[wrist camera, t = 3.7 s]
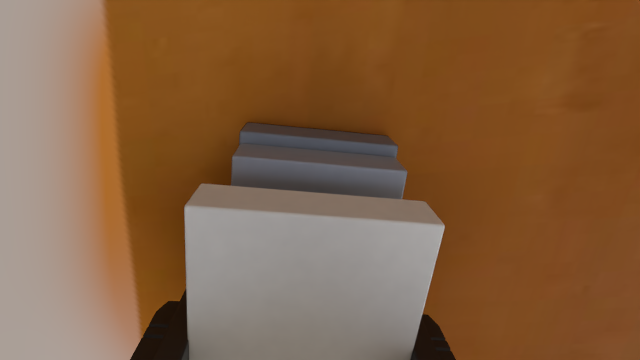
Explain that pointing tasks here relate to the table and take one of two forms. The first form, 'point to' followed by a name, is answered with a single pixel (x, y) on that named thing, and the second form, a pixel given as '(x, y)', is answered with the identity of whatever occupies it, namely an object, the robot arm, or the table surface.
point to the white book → (305, 274)
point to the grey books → (317, 161)
